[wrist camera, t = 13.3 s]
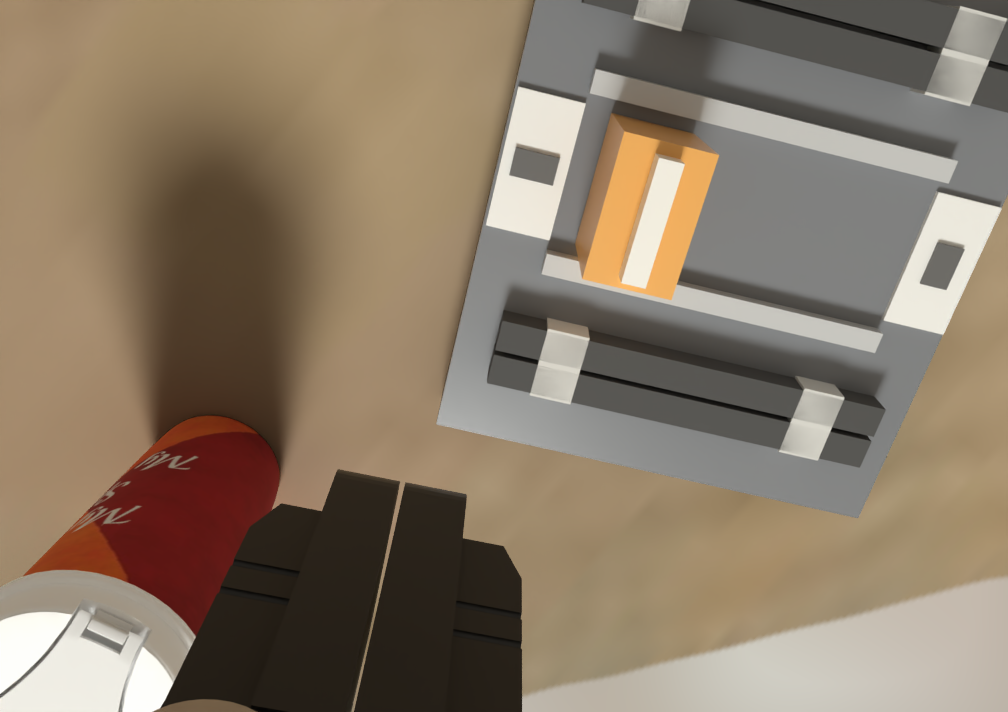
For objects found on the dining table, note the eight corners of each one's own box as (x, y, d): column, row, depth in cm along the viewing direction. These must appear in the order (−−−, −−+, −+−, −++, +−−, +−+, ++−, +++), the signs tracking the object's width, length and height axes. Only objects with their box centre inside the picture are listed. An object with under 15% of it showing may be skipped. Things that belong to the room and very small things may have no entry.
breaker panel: (576, -179, 30) (582, -197, 27) (1074, -42, 31) (1129, -46, 28) (441, 397, 38) (435, 431, 35) (838, 487, 39) (863, 526, 36)
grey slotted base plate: (597, -80, 31) (606, -89, 27) (999, 27, 32) (1056, 31, 28) (489, 349, 37) (486, 385, 34) (828, 427, 38) (858, 470, 35)
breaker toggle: (611, 113, 31) (626, 135, 26) (693, 133, 31) (725, 159, 26) (575, 243, 33) (583, 286, 28) (653, 262, 33) (675, 308, 28)
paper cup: (172, 361, 38) (-13, 555, 25) (333, 445, 39) (238, 671, 26) (105, 496, 40) (-93, 735, 27) (258, 570, 42) (138, 832, 29)
